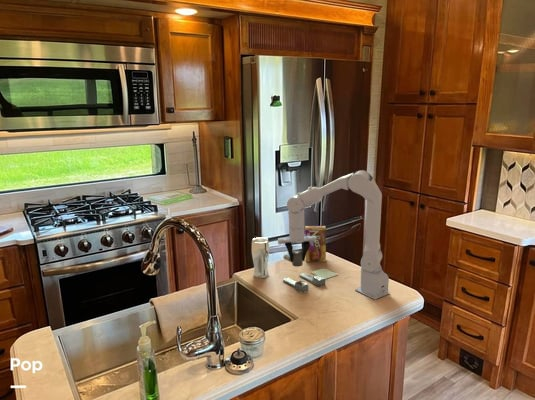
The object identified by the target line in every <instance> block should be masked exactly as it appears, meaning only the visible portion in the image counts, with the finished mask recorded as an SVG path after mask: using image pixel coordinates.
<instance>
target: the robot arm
mask: <svg viewBox="0 0 535 400" xmlns="http://www.w3.org/2000/svg"><path fill="white" fill-rule="evenodd" d="M341 189H343V190H346V191H349V190H351V192H353V193H355V194H357V195H360V196H361V197H363V198H364V199H365V200H366V217H365V218H366V221H365V223H366V224H365V242H364V249H363V254H362V255H363V256H362V257H361V259H360V286H359V287H356V288H355V291H356V292H358V293H360V294H363V295H365V296H366V297H369V298H371V299H373V300H377V299H379V298H383V297H384V296H386V295H389V294H390V291H389V282H390V281H389V279H390V277H389V275H388V274H387V273H385V272H384V270H383V268H382V265H381V261H382V259H383V257H384V256H383V252H382V250H381V243H380V237H381V222H382V221H381V219H382V216H381V215H382V203H383V202H382V199H383V195H382V191H381V189H380V188H379V186H378V185H377V182H376V181H375V178H374V176H373V175H372V174H370V173H369V172H368V171H367V170H364V169H362V170H358V171H355V172H352V173H351V172H350V173H348V174H347V175H343V176H340V177H339V178H337V179H335V180H333V181H331V182H329V183H327V184H325V185H323V186H321V187H317V186H309V187H307V189H306V190H305V191H302V192H298V193H296V194H295V195H293V196H292V197H290V198H289V199H288V200H287V202H286V208H287V209H288V211H289V212H288V217H289V219H288V223H289V224H288V225H289V228H288V232H289V236H285V237H279V238H277V243H278V245H282V244H283V245H285V247H286V251H288V256H290V261H291V262H290V261H289V262H290V263H292V262H293V256H292V252H293V249H294V248H293V247H294V246H293V244H301V251H302V252H303V262H306V253H307V251H308V249H309V247H310V243H309V242H316V237H315V236H305V208H308V207H310V206H312V205H315V204H317V203H320V202H321V201H322V200H323V197H324V196H326V195H328V194H331V193H334V192H336V191H338V190H341Z"/></svg>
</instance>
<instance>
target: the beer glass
mask: <svg viewBox="0 0 535 400" xmlns="http://www.w3.org/2000/svg"><path fill="white" fill-rule="evenodd" d="M251 257H252V262H253V269H254V270H253V277H254V278H256V279H266V278H268V277H269V270H268V262H269V258H270V243H269V239H268V237H256V238H255V237H254V238H252V240H251Z"/></svg>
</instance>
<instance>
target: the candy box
mask: <svg viewBox="0 0 535 400" xmlns="http://www.w3.org/2000/svg"><path fill="white" fill-rule="evenodd" d="M326 230H327V228H326V225H304V236H315V237H316V242H309V243H310V247H309V249H308V251H307V253H306V256H305V262H307V263H309V262H310V263H311V262H312V263H314V262H315V263H316V262H317V263H321V262H322V263H326V261H327V256H326V255H327V254H326V252H327V250H326V249H327V246H326V245H327V237H326V236H327V234H326V232H327V231H326Z"/></svg>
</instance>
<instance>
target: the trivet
mask: <svg viewBox="0 0 535 400" xmlns="http://www.w3.org/2000/svg"><path fill="white" fill-rule="evenodd" d="M310 272H311V274H312V275H314V276H317V275H320V276H322V277H324V278H325V280H328V279H331V278H334V277H336V276H338V275H339V274H338V273H336V272H334V271H332V270H329V269H327V268H326V267H323V268H320V269H317V270H314V271H310Z"/></svg>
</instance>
